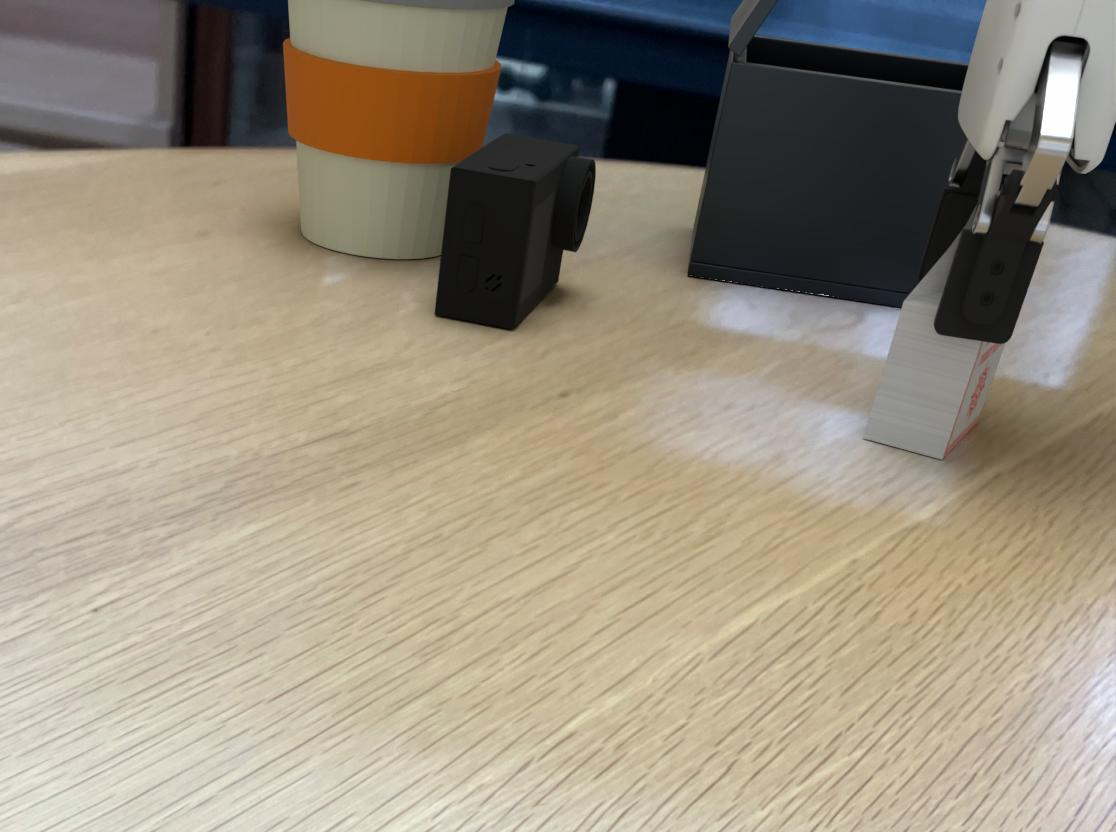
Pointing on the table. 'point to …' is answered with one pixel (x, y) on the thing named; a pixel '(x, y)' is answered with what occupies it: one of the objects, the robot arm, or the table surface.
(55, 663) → the table surface
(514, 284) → the digital camera
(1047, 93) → the robot arm
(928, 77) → the bin
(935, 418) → the small milk carton
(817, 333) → the table surface
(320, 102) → the reusable coffee cup
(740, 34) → the bin lid
